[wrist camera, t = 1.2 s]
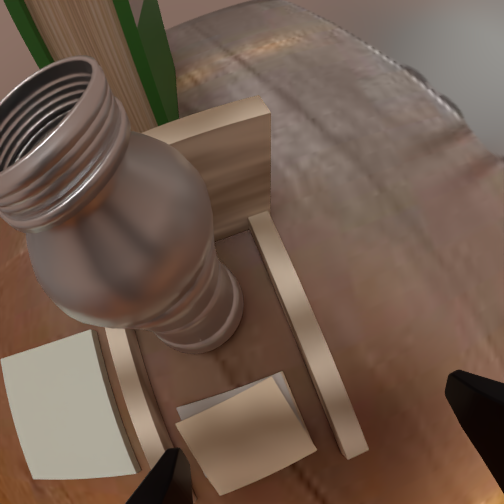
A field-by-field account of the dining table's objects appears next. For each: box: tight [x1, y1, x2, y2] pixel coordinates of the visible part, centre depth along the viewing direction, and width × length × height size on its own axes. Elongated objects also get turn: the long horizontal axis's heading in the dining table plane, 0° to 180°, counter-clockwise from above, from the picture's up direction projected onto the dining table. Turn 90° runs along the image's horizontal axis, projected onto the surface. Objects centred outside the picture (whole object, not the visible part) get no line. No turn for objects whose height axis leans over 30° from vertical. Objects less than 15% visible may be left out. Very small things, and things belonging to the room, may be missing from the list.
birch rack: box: [105, 95, 369, 504], centre depth 16 cm, size 21×15×12 cm
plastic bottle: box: [0, 55, 244, 354], centre depth 14 cm, size 6×7×20 cm
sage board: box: [1, 329, 141, 479], centre depth 19 cm, size 12×12×1 cm
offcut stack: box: [175, 371, 317, 496], centre depth 18 cm, size 7×8×3 cm
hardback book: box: [4, 0, 179, 133], centre depth 20 cm, size 18×7×24 cm, turn 12°
